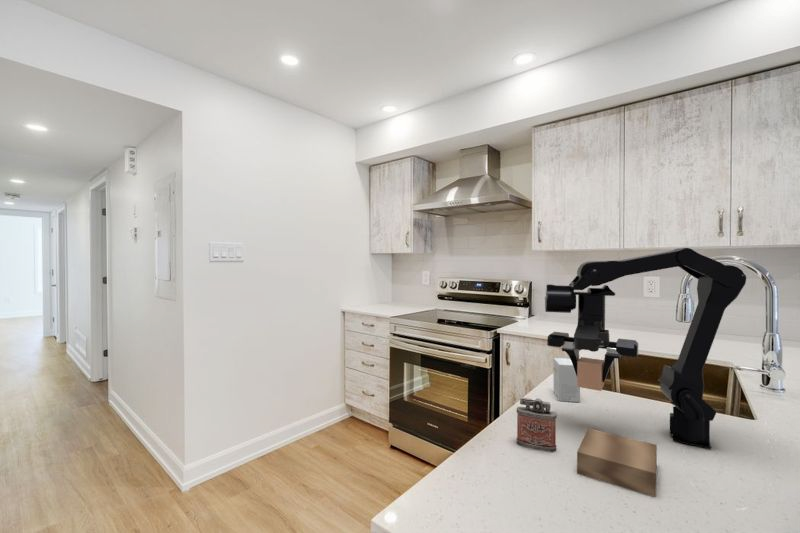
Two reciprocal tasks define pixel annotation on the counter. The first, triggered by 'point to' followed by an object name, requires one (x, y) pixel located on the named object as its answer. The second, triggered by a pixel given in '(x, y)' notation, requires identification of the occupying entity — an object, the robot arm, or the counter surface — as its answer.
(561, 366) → the small box
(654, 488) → the plate
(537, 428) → the lighter
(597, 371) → the terracotta block
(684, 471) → the counter surface
